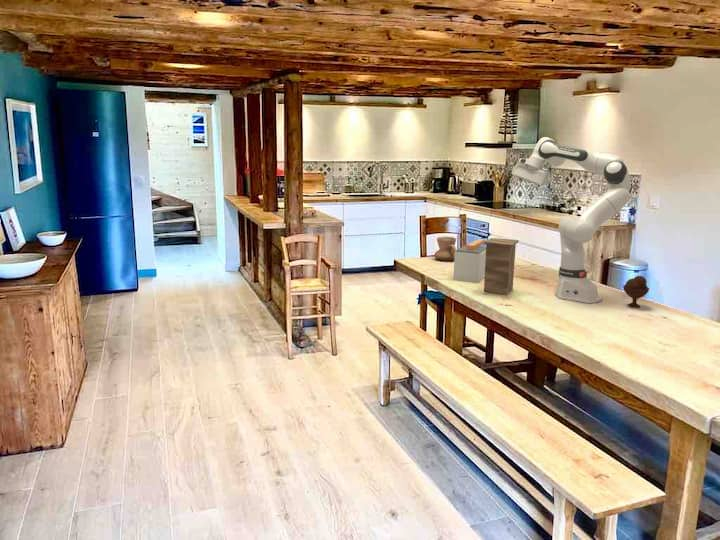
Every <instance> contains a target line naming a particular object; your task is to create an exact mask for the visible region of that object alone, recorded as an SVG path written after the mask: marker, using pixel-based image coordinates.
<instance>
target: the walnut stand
mask: <svg viewBox="0 0 720 540" xmlns="http://www.w3.org/2000/svg"><path fill="white" fill-rule="evenodd" d="M518 243H519V240H518V239H508V238H507V239H506V238H498V237H497V238H495V237H491V238H489V239H487V240H485V242H484V244H483V245H485V247H486V260H485V278H484V279H483V280H484V281H483V293H488V294H495V295H496V294H497V295H503V296H504V295H505V296H508V295H509V294H510V293H511V292H513V289H514V276H515V275H514V274H515V273H514V272H515V263H516V262H515V261H516V260H515V259H516V258H515V257H516V248H517V244H518Z"/></svg>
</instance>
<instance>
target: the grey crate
mask: <svg viewBox="0 0 720 540" xmlns="http://www.w3.org/2000/svg"><path fill="white" fill-rule="evenodd" d="M466 245H467V244H465V245H463V246H461V247H459V248H457V249H456V251H455V257H454V260H453V278H452V279H453V280H455V281H463V282H470V283H479V282H481V281H482V280H484V278H485V260H486V246H480V247H478V248H476V249H475V250H466Z"/></svg>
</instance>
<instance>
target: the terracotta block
mask: <svg viewBox="0 0 720 540" xmlns="http://www.w3.org/2000/svg"><path fill="white" fill-rule="evenodd" d="M485 241H486V239H485V238H477V239H476V240H474V241H472V242H470V243H468V244H465V245H466V250H475V249H476V248H478V247H483V245H485V244H484V242H485Z"/></svg>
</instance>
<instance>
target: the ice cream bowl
mask: <svg viewBox="0 0 720 540" xmlns="http://www.w3.org/2000/svg"><path fill="white" fill-rule="evenodd" d="M622 287H623V290H624V292H625V294H626V295H627V296H628V297H630V298H632V302H630V303H629V304H627V306H628V307H629V308H633V309H640V308H641V305H640V304H638V303H637V301H638V299H641V298H642V297H643V298H644V296H646V295H647V294H648V293H649V291H650V287H648V285H647V279H646V277H644V276H643V275H636V276H634V277H633V278H629V279H628V280H627V281H626V282H625V284H624V285H623V286H622Z"/></svg>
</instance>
